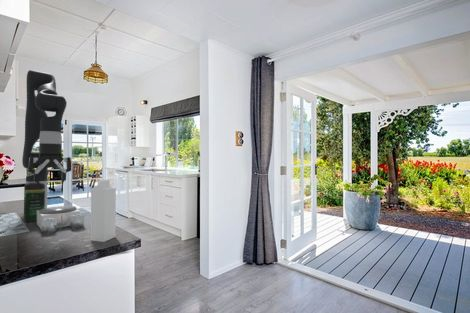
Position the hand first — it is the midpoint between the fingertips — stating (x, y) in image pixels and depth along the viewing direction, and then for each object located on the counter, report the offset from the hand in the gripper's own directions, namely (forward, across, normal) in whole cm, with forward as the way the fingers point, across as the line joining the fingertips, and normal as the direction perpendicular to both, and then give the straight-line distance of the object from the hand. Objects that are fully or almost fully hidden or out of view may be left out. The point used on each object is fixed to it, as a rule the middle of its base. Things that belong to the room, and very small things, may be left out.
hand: (50, 182), depth 106 cm
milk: (+20, -13, +24) cm, 34 cm away
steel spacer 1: (+20, 0, 0) cm, 20 cm away
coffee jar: (+20, +2, -27) cm, 33 cm away
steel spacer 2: (+20, -10, 0) cm, 22 cm away
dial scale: (+20, -5, -12) cm, 23 cm away
